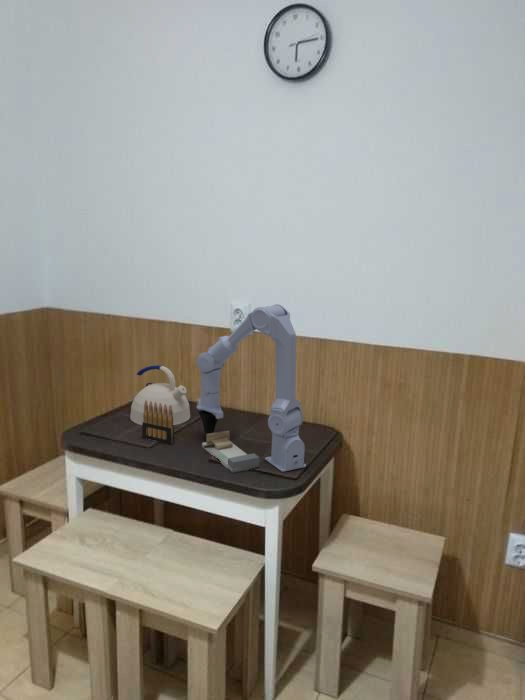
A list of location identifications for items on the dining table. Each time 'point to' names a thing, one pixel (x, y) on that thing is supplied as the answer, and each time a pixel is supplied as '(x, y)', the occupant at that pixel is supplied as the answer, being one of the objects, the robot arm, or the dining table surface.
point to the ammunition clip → (158, 423)
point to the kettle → (161, 398)
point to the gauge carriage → (218, 440)
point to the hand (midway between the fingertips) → (209, 434)
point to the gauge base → (234, 458)
